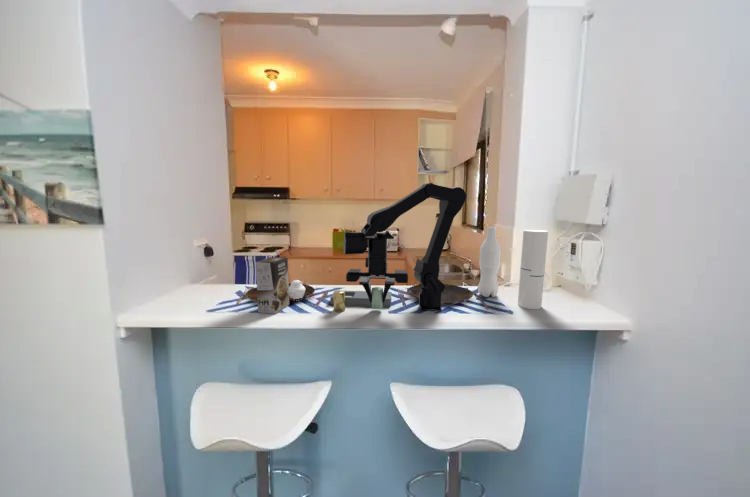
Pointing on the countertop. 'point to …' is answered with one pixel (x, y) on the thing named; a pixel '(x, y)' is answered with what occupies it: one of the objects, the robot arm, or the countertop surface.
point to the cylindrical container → (532, 268)
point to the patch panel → (360, 298)
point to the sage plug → (377, 298)
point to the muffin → (296, 289)
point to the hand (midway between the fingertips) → (377, 302)
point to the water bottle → (489, 264)
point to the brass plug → (339, 301)
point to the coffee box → (272, 284)
